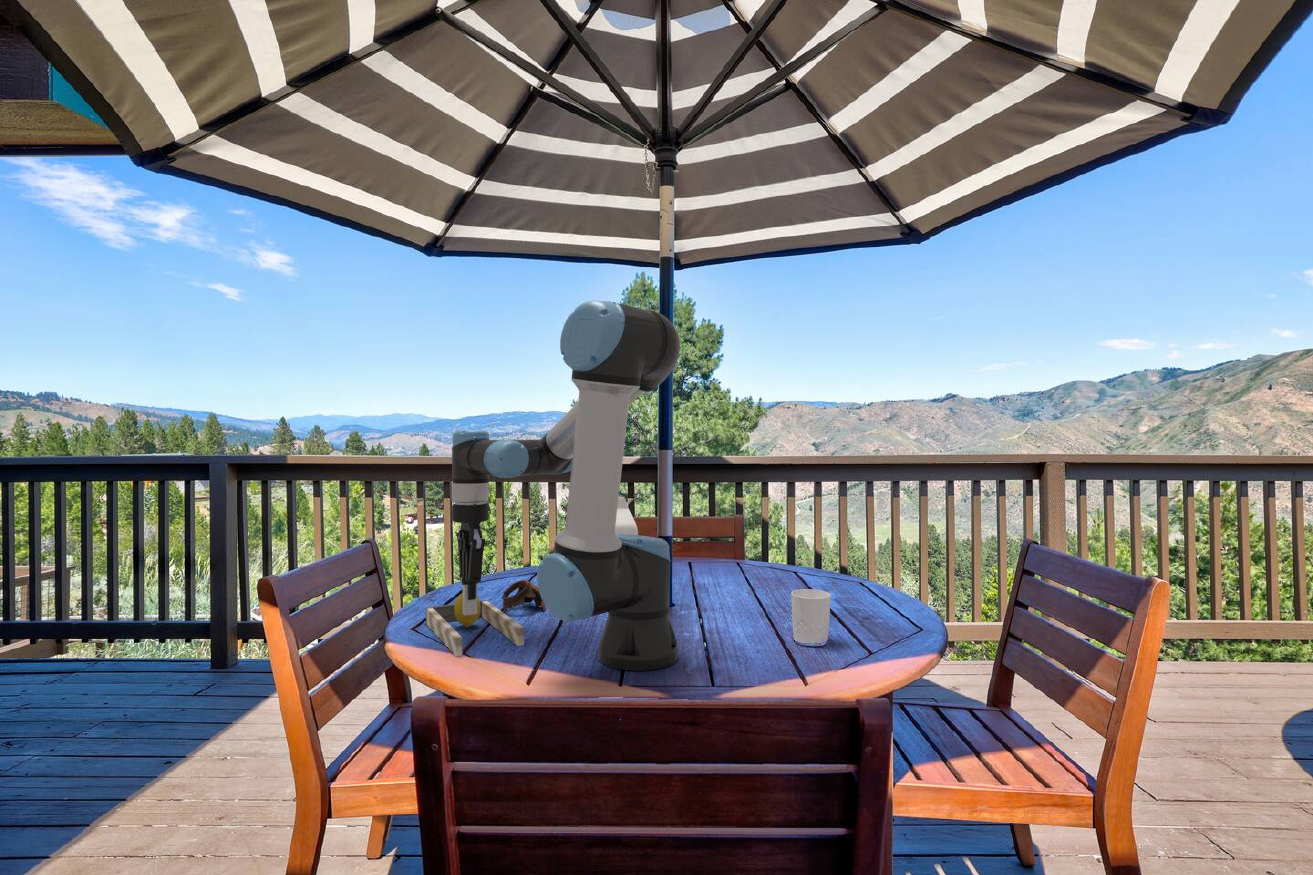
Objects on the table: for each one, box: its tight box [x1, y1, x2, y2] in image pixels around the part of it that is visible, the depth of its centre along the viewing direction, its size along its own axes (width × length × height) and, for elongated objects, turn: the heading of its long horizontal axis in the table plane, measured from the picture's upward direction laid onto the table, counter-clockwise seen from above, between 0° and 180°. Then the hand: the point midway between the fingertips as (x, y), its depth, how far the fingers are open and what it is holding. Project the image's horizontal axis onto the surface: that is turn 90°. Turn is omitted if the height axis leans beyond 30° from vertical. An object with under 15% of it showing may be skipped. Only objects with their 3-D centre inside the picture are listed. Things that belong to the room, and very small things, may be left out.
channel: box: [425, 599, 525, 658], centre depth 138 cm, size 25×13×4 cm, turn 32°
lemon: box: [454, 592, 481, 628], centre depth 143 cm, size 6×6×8 cm
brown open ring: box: [501, 579, 547, 613], centre depth 158 cm, size 12×10×8 cm
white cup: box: [790, 588, 831, 644], centre depth 135 cm, size 8×8×10 cm
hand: (469, 613), depth 139 cm, fingers closed
